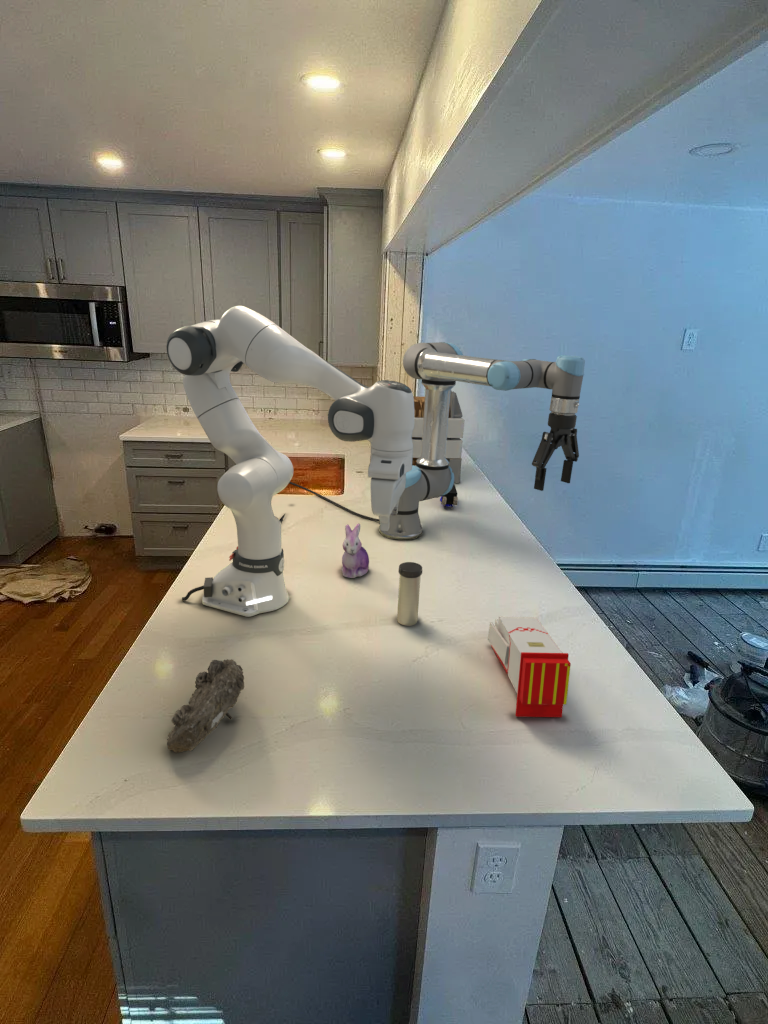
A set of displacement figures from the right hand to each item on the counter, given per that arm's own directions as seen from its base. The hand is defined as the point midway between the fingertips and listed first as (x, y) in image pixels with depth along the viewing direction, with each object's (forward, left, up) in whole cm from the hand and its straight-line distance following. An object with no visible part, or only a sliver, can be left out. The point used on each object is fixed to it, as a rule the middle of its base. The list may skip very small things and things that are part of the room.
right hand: (552, 485), depth 166 cm
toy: (+29, -48, -28) cm, 63 cm away
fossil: (0, -107, -28) cm, 110 cm away
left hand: (+1, -64, +3) cm, 65 cm away
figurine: (-33, -46, -28) cm, 63 cm away
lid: (-3, -52, -13) cm, 54 cm away
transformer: (-101, +46, -28) cm, 115 cm away
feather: (-85, -39, -28) cm, 98 cm away
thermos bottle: (-3, -52, -28) cm, 60 cm away
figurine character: (-60, +23, -28) cm, 70 cm away
